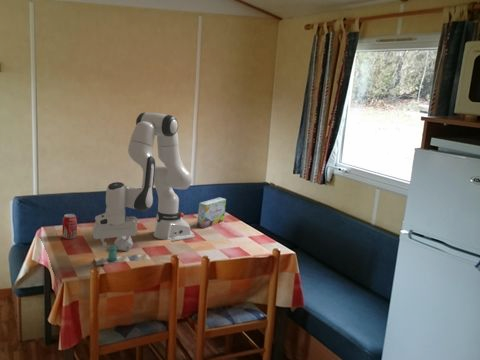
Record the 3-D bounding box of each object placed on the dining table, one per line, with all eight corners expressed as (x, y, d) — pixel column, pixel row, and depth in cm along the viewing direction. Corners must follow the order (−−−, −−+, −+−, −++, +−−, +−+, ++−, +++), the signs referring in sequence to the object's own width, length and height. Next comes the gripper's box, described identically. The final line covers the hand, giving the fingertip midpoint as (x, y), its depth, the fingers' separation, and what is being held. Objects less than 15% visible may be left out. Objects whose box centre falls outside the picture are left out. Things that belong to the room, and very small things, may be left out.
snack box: (203, 229, 279) (205, 204, 275) (196, 226, 282) (198, 202, 278) (224, 221, 296) (226, 198, 293) (217, 219, 299) (219, 196, 296)
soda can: (64, 234, 249) (64, 212, 246) (78, 235, 249) (78, 213, 247) (60, 239, 242) (61, 217, 239) (74, 240, 243) (75, 217, 240)
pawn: (116, 258, 222) (117, 243, 220) (115, 261, 218) (116, 246, 217) (109, 258, 222) (109, 243, 220) (107, 261, 218) (108, 245, 216)
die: (122, 257, 229) (135, 240, 230) (108, 246, 230) (121, 229, 231) (126, 256, 237) (138, 240, 239) (112, 246, 238) (125, 230, 239)
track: (147, 255, 232) (147, 253, 231) (151, 261, 226) (152, 259, 225) (93, 261, 220) (93, 258, 219) (96, 267, 214) (96, 264, 213)
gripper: (135, 213, 226) (134, 240, 229) (91, 217, 216) (91, 245, 219) (139, 217, 220) (138, 245, 224) (94, 221, 211) (94, 250, 214)
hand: (114, 245), depth 221 cm, fingers open, 8 cm apart
